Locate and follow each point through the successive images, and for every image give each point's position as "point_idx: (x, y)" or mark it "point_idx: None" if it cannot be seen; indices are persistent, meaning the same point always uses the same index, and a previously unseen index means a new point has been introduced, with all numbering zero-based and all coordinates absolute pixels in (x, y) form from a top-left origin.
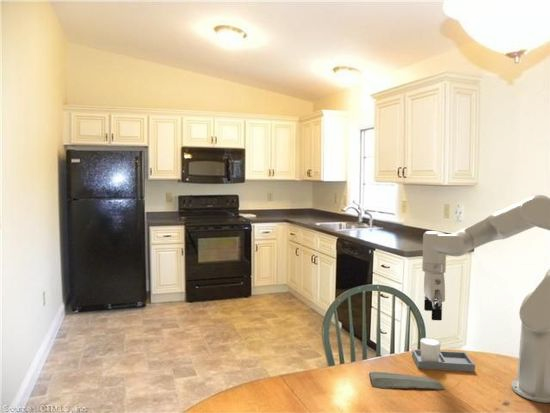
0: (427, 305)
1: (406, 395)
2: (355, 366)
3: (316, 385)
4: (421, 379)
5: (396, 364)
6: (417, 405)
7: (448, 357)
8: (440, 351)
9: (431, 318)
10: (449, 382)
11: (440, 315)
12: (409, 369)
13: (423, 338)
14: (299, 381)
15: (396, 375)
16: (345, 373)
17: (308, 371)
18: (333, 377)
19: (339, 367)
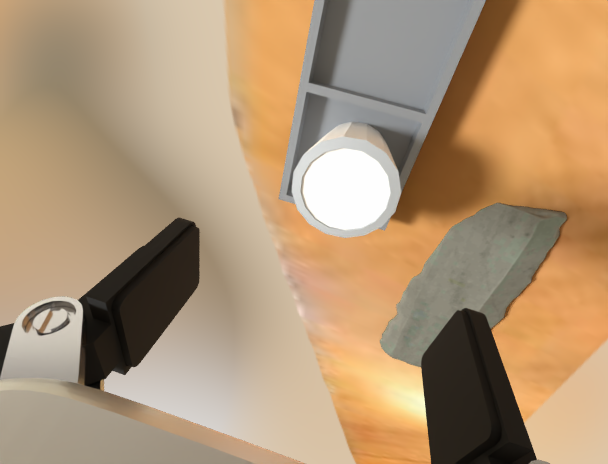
0: (169, 305)
1: (529, 328)
2: (336, 354)
3: (403, 433)
4: (476, 258)
5: (342, 265)
6: (595, 331)
7: (338, 43)
8: (308, 79)
9: (424, 368)
10: (528, 162)
11: (490, 363)
12: (384, 246)
13: (303, 207)
14: (380, 444)
15: (428, 312)
16: (367, 382)
17: (343, 422)
18: (379, 404)
19: (336, 379)
